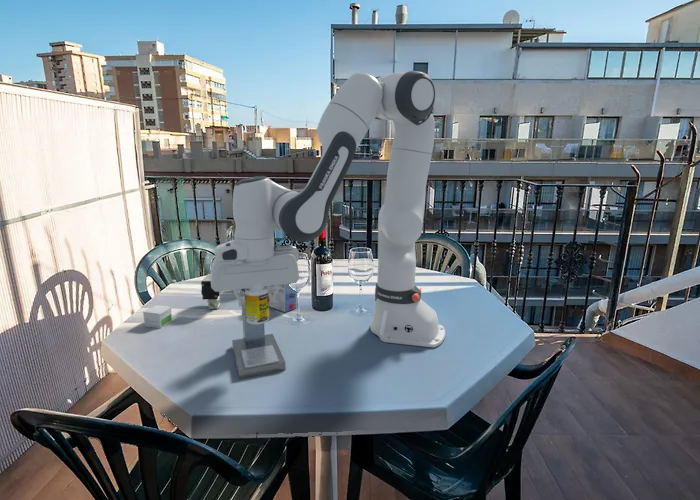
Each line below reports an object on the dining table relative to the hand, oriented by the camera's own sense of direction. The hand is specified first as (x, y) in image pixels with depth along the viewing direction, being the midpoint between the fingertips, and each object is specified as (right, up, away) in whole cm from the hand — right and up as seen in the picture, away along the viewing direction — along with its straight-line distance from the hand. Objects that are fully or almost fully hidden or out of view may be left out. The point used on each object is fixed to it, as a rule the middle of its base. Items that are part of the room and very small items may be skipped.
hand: (257, 303), depth 91 cm
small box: (-36, -10, +26) cm, 46 cm away
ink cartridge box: (-1, -7, +40) cm, 40 cm away
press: (-2, -15, +7) cm, 17 cm away
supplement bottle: (0, -4, +1) cm, 5 cm away
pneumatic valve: (-23, -7, +38) cm, 45 cm away
